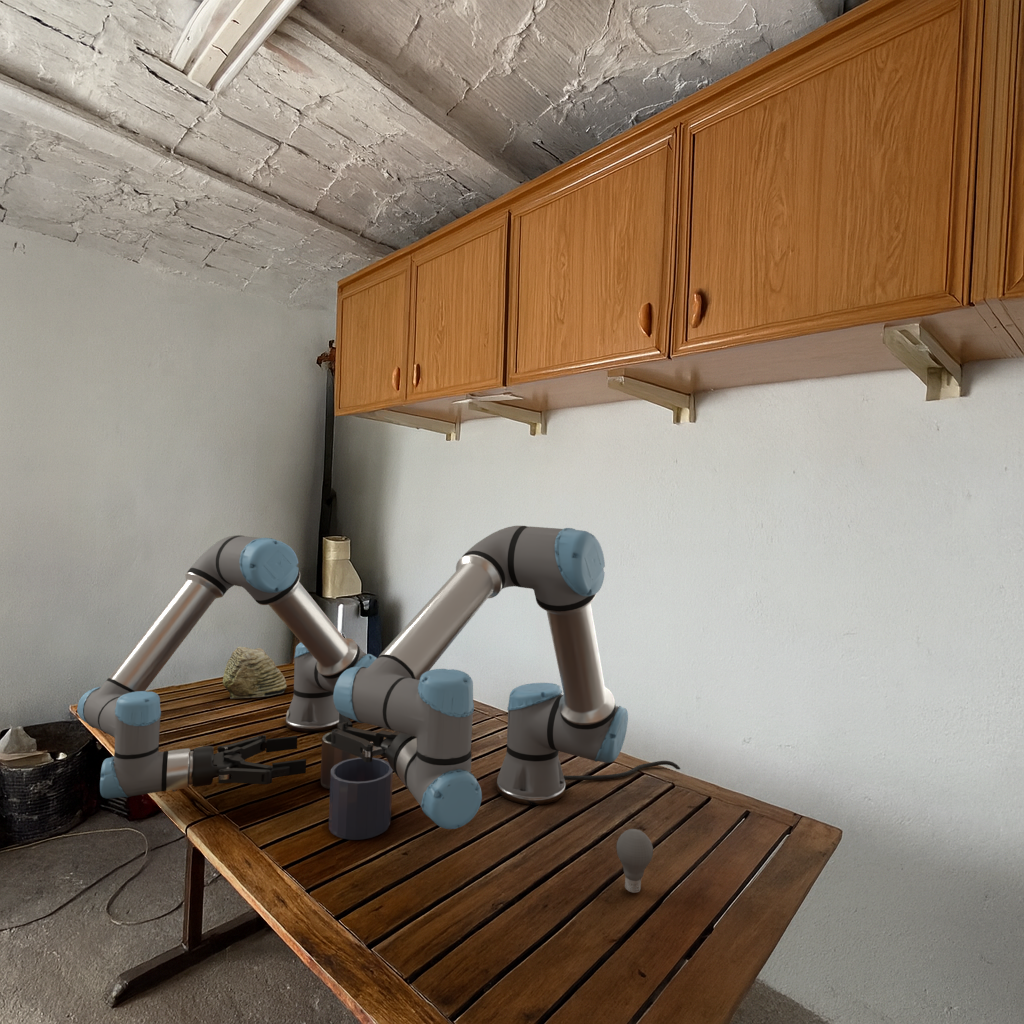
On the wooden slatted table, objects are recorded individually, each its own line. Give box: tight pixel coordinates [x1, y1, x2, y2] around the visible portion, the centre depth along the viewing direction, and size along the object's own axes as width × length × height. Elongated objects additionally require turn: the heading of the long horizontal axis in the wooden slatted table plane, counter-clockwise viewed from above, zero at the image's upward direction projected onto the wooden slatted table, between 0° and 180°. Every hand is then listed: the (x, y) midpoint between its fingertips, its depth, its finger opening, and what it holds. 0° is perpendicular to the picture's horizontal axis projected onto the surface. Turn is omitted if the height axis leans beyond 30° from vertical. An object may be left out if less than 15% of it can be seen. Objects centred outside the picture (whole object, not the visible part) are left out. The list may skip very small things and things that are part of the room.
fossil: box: [222, 646, 288, 699], centre depth 198 cm, size 9×18×15 cm, turn 132°
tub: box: [328, 757, 394, 841], centre depth 123 cm, size 12×12×11 cm
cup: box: [320, 731, 360, 790], centre depth 141 cm, size 8×8×10 cm
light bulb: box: [615, 828, 654, 894], centre depth 106 cm, size 6×6×10 cm
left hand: (301, 753), depth 137 cm, fingers open, 13 cm apart
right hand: (379, 715), depth 115 cm, fingers open, 13 cm apart
